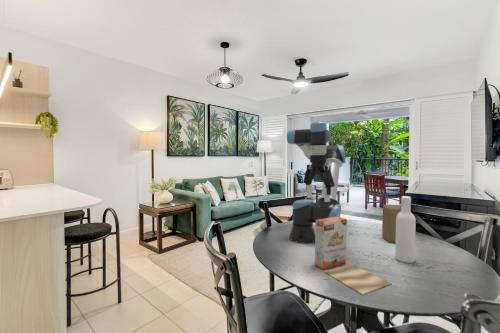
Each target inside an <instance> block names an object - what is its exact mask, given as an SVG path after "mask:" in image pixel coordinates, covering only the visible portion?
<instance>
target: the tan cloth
mask: <svg viewBox="0 0 500 333" xmlns="http://www.w3.org/2000/svg"><path fill="white" fill-rule="evenodd" d="M323 273H325V274H327V275H328V276H330V277H331V278H333V279H335V280H337V281H338V282H340V283H342V284H343V285H345V286H347V287H348V288H350V289H352V290H353V291H355V292H357V293H358V294H360V295H362V296H364V295H367V294H369V293H372V292H375V291H377V290H380V289H383V288H386V287H388V286H392V284H393V283H391V282H390V281H388V280H387V279H386V280H385V279H383V278H382V277H379V276H377V275H375V274H373V273H371V272H369V271H368V270H366V269H363V268H361V267H358V266H356V265H355V264H353V263H349V264H345V265H343V266H339V267H338V266H337V267H335V268H331V269H329V270H328V269H326V270H325V271H324V272H323Z"/></svg>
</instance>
